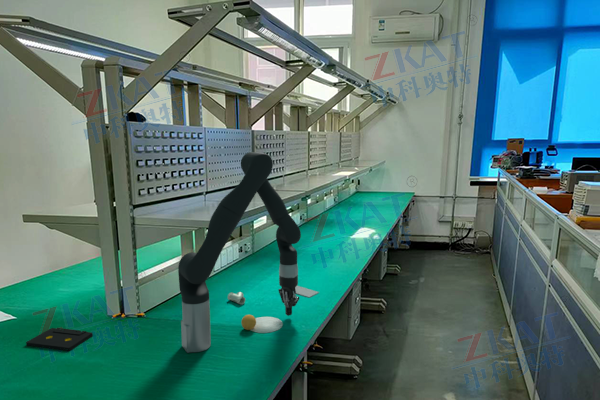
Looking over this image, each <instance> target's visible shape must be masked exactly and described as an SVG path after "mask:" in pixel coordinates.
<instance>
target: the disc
mask: <svg viewBox="0 0 600 400" xmlns="http://www.w3.org/2000/svg"><path fill="white" fill-rule="evenodd" d="M255 319H256V325H255V327H254V328H253V329H251V330H250V331H252V332H254V333H258V334H269V333H274V332H277V331H279V330H281V329H282V328H283V325H284V323H283V321H282V320H281V319H279V318H278V317H273V316H261V317H255Z"/></svg>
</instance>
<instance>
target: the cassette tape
mask: <svg viewBox="0 0 600 400" xmlns="http://www.w3.org/2000/svg"><path fill="white" fill-rule="evenodd" d="M93 335H94V334H93V332H89V331H87V330H80V329H79V330H77V329H71V328H70V329H69V328H61V327H57V328H54V327H51V328H49V329H47V330H45V331H44V332H42V333H40V334H38V335H36V336H35V337H33V338H31V339H29V340H27V341H26V342H25V344H26V346H27V347H33V348H42V349H48V350H54V351H55V350H56V351H64V352H71V351H73V350H75V348H77V347H79V346H80V345H82V344H83V343H85V342H86V341H87V340H90V339H91V338H92V337H93Z"/></svg>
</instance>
